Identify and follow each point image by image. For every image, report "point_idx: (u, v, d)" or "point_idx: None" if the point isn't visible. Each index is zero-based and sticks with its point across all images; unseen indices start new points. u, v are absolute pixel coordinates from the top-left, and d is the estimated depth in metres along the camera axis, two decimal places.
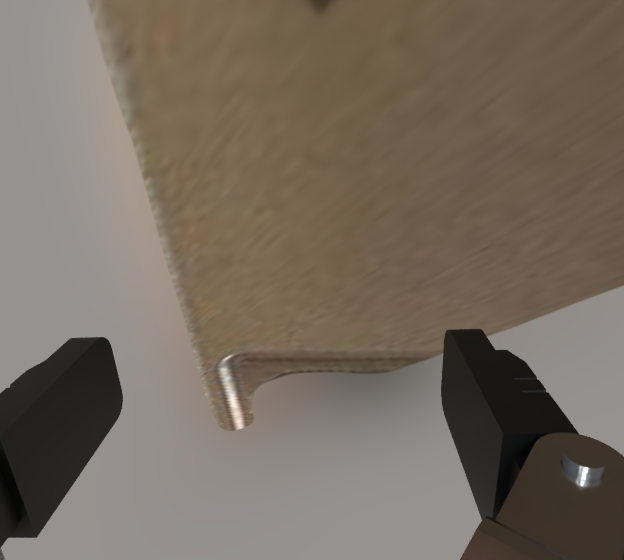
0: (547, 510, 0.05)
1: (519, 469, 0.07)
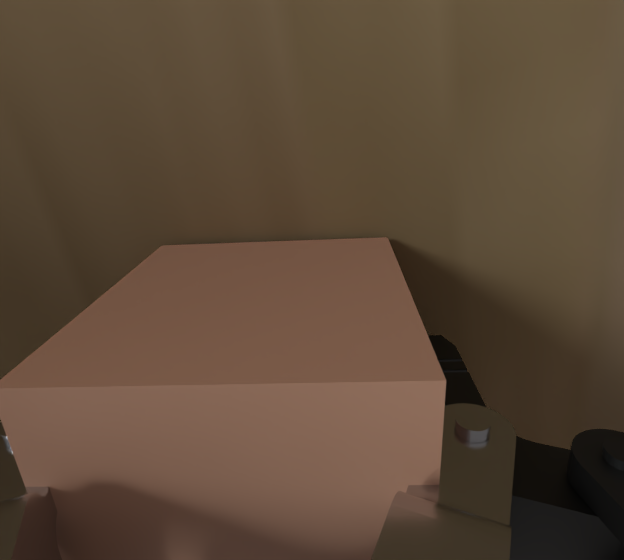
0: None
1: None
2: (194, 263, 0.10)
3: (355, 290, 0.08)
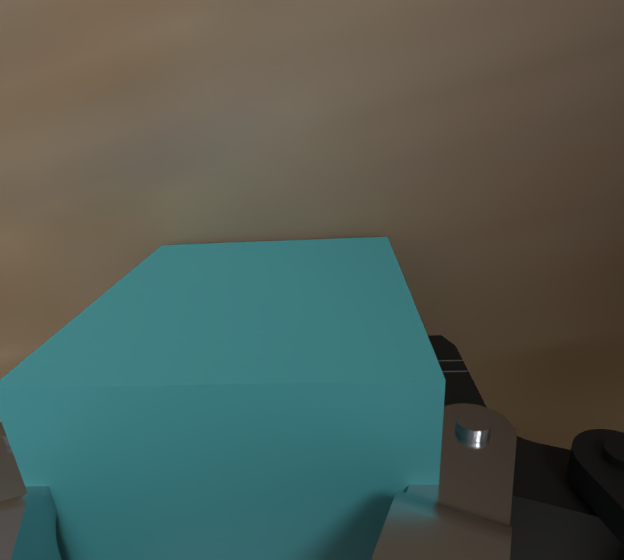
0: None
1: None
2: None
3: None
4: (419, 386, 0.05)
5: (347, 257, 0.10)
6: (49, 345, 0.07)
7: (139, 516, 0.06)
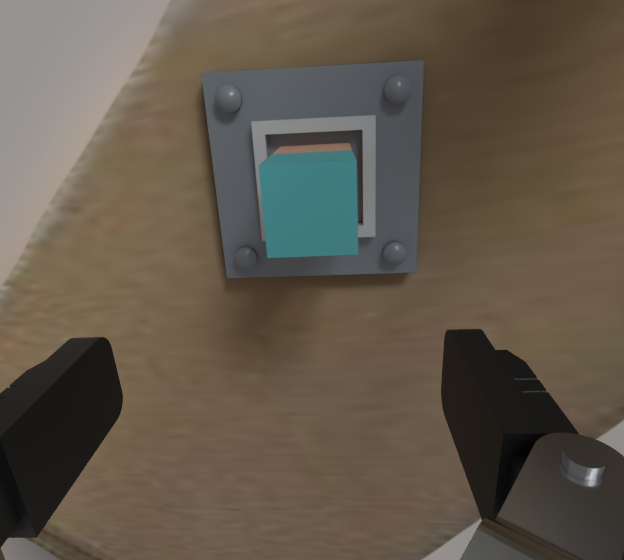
0: (547, 510, 0.05)
1: (519, 469, 0.07)
2: None
3: None
4: (351, 162, 0.25)
5: (337, 152, 0.29)
6: (263, 162, 0.26)
7: (287, 201, 0.26)
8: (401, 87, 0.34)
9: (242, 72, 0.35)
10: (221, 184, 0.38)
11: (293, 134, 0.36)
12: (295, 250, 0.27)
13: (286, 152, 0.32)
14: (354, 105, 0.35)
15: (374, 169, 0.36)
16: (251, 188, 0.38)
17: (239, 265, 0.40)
